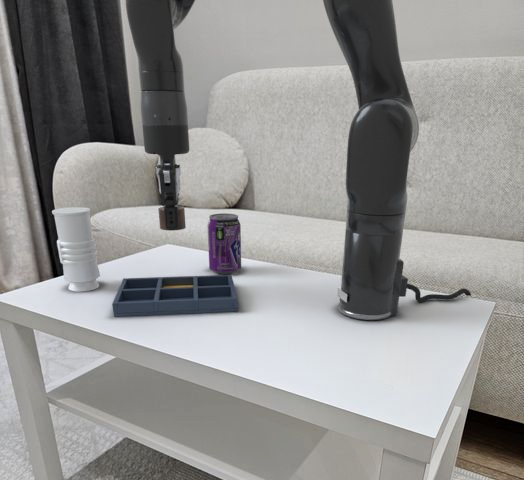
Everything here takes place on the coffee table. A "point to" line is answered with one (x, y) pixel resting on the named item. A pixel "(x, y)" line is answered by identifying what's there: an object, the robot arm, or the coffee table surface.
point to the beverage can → (224, 243)
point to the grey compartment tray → (175, 295)
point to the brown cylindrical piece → (180, 218)
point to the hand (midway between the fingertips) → (172, 226)
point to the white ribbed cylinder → (77, 248)
